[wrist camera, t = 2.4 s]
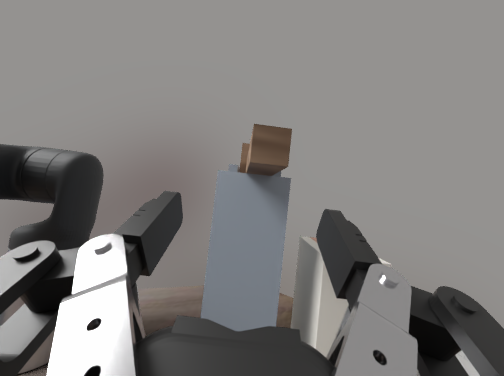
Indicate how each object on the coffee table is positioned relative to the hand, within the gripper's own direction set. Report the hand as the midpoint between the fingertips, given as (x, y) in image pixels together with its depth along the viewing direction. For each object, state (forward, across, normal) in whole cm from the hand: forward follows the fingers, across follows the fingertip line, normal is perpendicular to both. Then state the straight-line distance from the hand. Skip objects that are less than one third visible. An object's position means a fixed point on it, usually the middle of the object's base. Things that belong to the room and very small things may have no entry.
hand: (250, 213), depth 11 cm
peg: (+16, 0, +4) cm, 16 cm away
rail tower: (+5, 0, +35) cm, 35 cm away
